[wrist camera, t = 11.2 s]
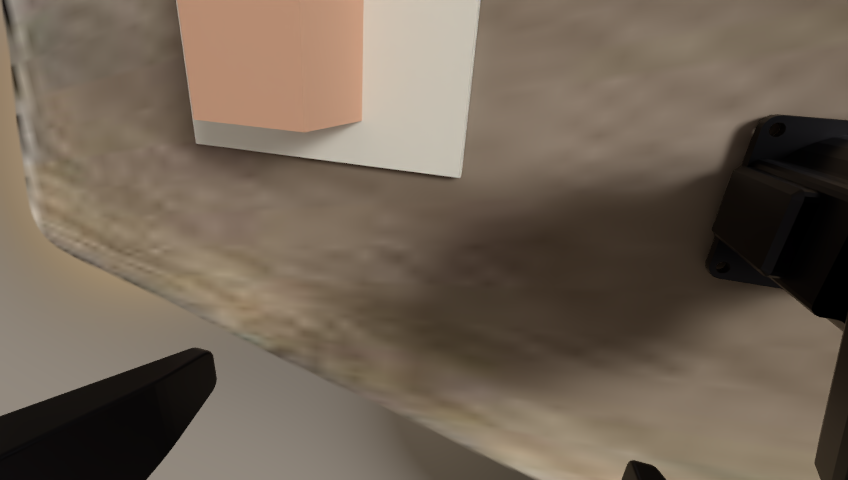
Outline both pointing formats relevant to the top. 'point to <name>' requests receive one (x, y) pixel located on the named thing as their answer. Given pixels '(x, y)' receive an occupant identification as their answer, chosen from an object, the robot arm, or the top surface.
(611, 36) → the top surface
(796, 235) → the robot arm
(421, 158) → the mat
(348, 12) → the tan rectangular block
